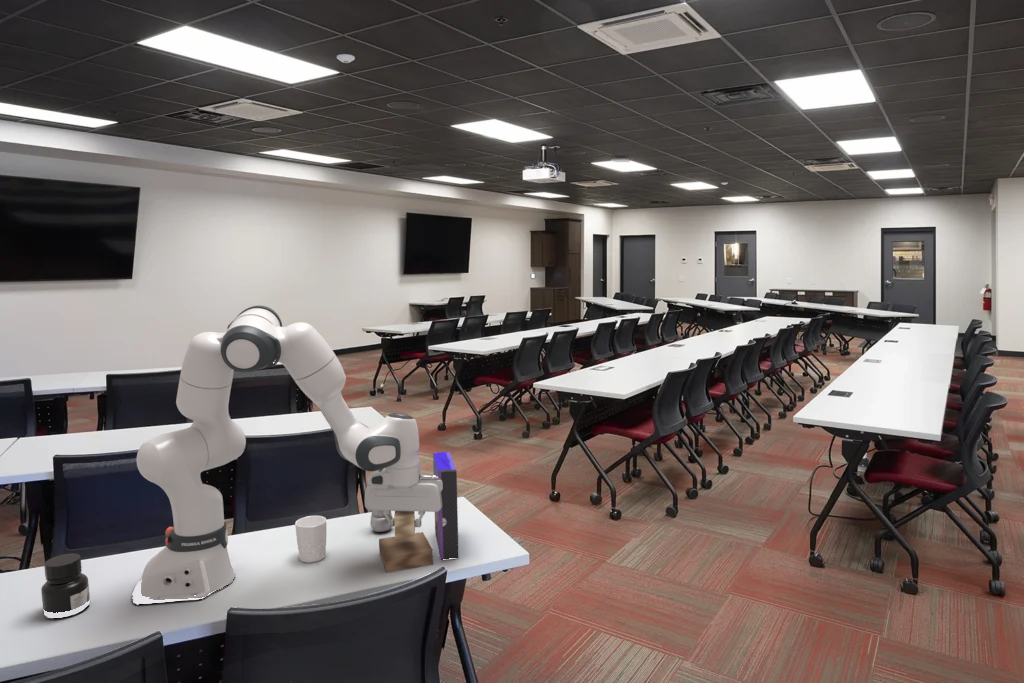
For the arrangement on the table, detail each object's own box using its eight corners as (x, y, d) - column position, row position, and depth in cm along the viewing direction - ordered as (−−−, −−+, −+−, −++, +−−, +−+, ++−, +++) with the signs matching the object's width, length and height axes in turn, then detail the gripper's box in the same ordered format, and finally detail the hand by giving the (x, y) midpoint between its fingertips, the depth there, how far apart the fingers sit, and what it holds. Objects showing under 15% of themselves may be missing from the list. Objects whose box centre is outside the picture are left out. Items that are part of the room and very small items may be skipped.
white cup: (322, 548, 182) (321, 513, 180) (332, 558, 175) (330, 522, 174) (293, 555, 177) (291, 519, 176) (301, 566, 171) (300, 529, 170)
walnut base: (386, 572, 167) (385, 557, 166) (379, 553, 178) (378, 538, 178) (433, 564, 171) (432, 550, 170) (423, 546, 182) (422, 532, 182)
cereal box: (435, 533, 190) (432, 452, 187) (451, 532, 191) (449, 451, 188) (440, 560, 173) (438, 471, 170) (458, 558, 174) (456, 470, 171)
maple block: (395, 538, 170) (394, 516, 170) (395, 531, 175) (395, 509, 175) (414, 537, 171) (413, 515, 170) (415, 529, 176) (414, 508, 175)
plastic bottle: (396, 525, 196) (393, 460, 194) (389, 535, 189) (387, 467, 187) (374, 525, 197) (372, 460, 194) (367, 534, 190) (364, 467, 188)
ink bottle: (86, 616, 148) (81, 565, 147) (38, 625, 145) (33, 573, 143) (94, 596, 157) (89, 547, 155) (49, 604, 153) (44, 554, 152)
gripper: (445, 471, 173) (446, 522, 175) (369, 470, 176) (371, 520, 177) (440, 479, 167) (441, 532, 169) (361, 478, 169) (363, 529, 171)
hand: (404, 526), depth 173 cm, fingers closed on maple block, 6 cm apart
